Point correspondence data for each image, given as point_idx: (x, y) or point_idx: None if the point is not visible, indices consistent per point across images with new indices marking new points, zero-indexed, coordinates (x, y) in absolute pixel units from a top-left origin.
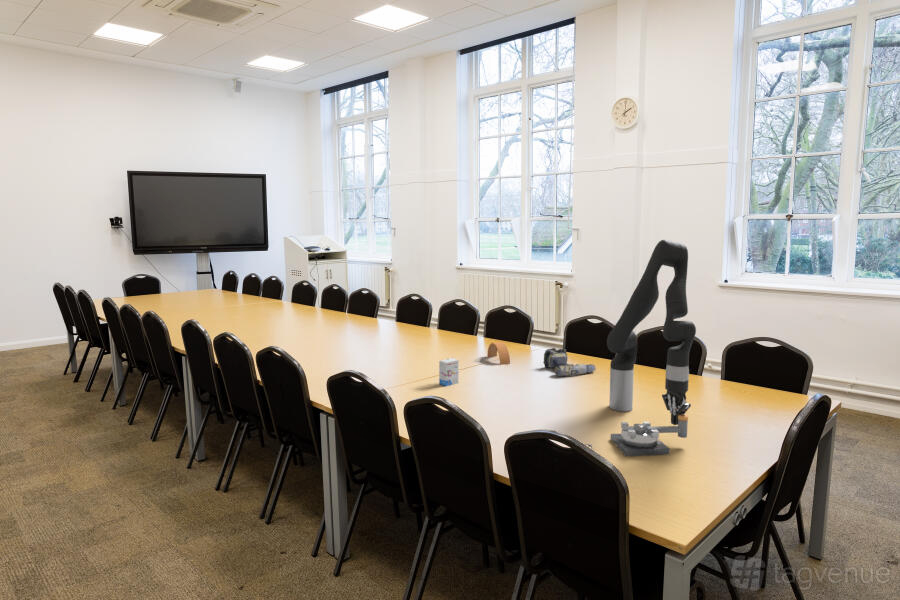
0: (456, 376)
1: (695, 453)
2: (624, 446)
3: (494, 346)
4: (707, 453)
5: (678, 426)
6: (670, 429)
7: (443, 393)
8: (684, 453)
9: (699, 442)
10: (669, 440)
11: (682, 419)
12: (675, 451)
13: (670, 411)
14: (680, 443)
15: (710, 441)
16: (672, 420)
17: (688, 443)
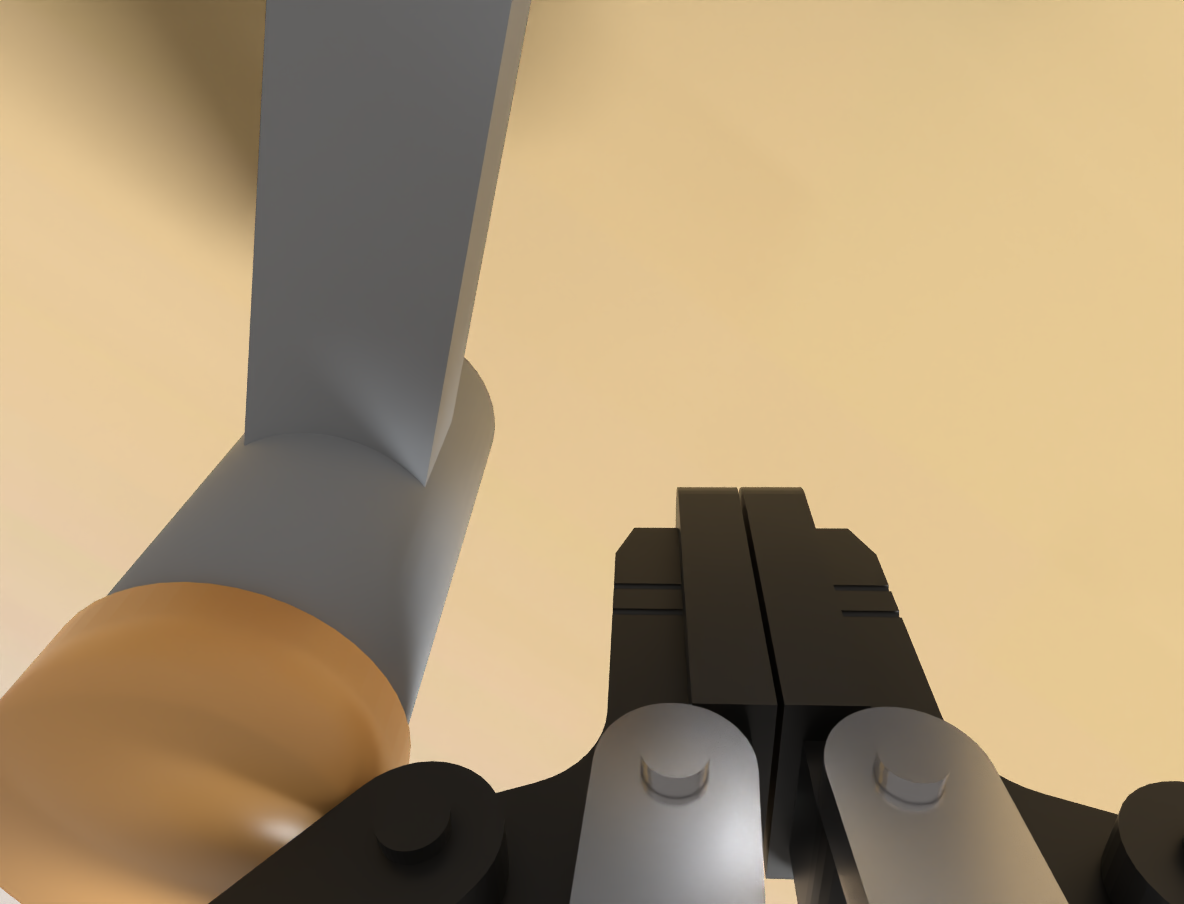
0: None
1: (84, 335)
2: None
3: None
4: (83, 501)
5: (327, 447)
6: (276, 105)
7: None
8: (85, 143)
9: (504, 647)
10: (738, 279)
11: (31, 673)
12: (193, 24)
13: (938, 774)
14: (546, 376)
15: (498, 772)
16: (752, 548)
17: (511, 492)
